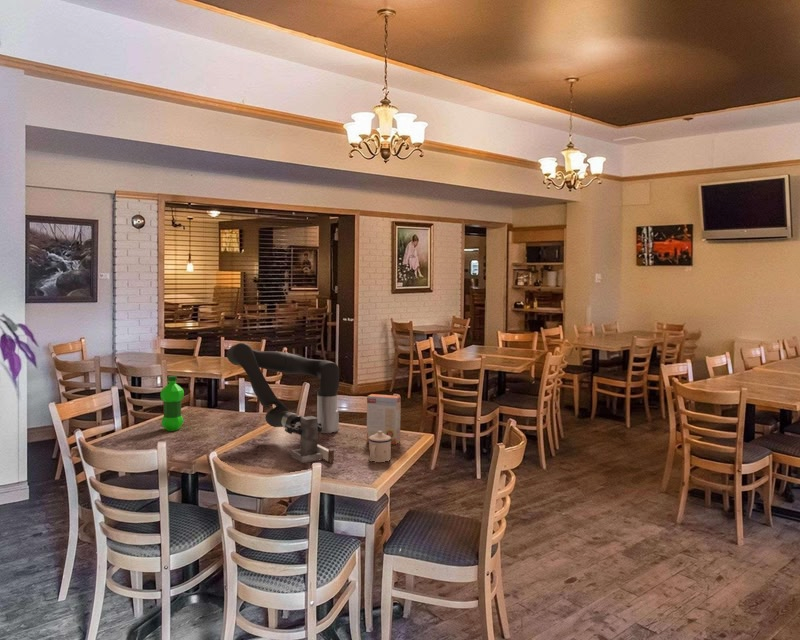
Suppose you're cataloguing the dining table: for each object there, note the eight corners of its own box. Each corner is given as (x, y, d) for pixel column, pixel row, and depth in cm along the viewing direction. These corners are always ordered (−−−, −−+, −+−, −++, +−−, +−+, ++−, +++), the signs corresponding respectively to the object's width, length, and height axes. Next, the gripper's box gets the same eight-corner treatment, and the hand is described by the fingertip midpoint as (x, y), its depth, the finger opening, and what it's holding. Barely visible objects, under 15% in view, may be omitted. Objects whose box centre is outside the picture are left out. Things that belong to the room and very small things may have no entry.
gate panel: (307, 450, 258) (307, 441, 258) (313, 450, 259) (313, 440, 259) (328, 461, 243) (328, 451, 243) (333, 460, 245) (333, 450, 245)
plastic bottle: (160, 432, 284) (159, 378, 282) (162, 427, 294) (161, 375, 292) (183, 431, 286) (183, 377, 285) (184, 426, 296) (184, 374, 295)
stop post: (311, 454, 252) (311, 415, 251) (317, 457, 248) (317, 418, 247) (300, 456, 249) (300, 417, 248) (306, 459, 245) (306, 419, 244)
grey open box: (309, 449, 260) (309, 438, 260) (333, 462, 243) (333, 450, 242) (285, 453, 254) (285, 441, 254) (308, 467, 237) (309, 454, 236)
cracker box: (400, 442, 275) (401, 395, 273) (396, 445, 269) (396, 398, 268) (371, 439, 279) (371, 393, 278) (366, 442, 274) (366, 395, 272)
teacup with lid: (373, 455, 254) (374, 427, 253) (394, 458, 250) (394, 429, 250) (361, 463, 243) (361, 434, 242) (382, 466, 239) (383, 436, 238)
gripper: (277, 415, 255) (294, 423, 242) (309, 412, 264) (327, 419, 250) (277, 433, 256) (294, 442, 243) (308, 429, 264) (327, 437, 251)
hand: (311, 431), depth 246 cm, fingers open, 8 cm apart
